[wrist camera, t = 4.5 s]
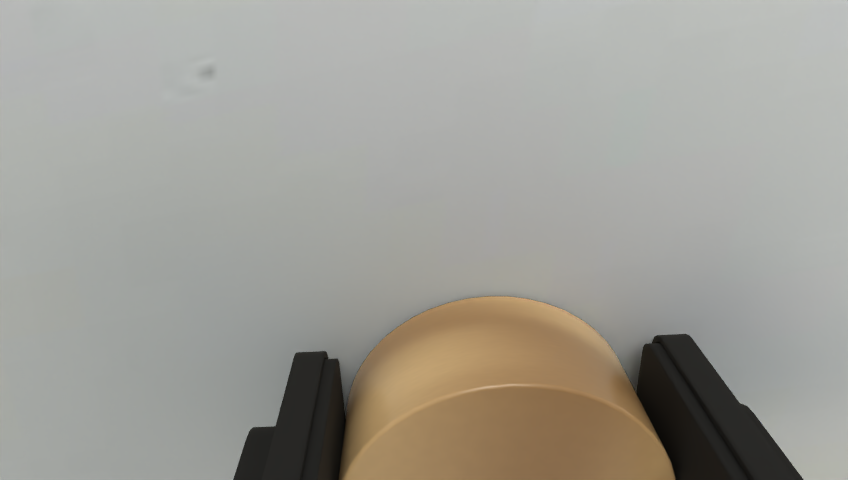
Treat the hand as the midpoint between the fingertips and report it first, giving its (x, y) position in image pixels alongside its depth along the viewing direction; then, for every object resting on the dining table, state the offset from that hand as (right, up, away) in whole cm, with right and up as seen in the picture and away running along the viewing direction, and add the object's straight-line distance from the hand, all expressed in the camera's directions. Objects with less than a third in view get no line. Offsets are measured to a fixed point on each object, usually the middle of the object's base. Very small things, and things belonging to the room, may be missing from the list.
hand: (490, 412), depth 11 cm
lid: (0, 0, +1) cm, 1 cm away
